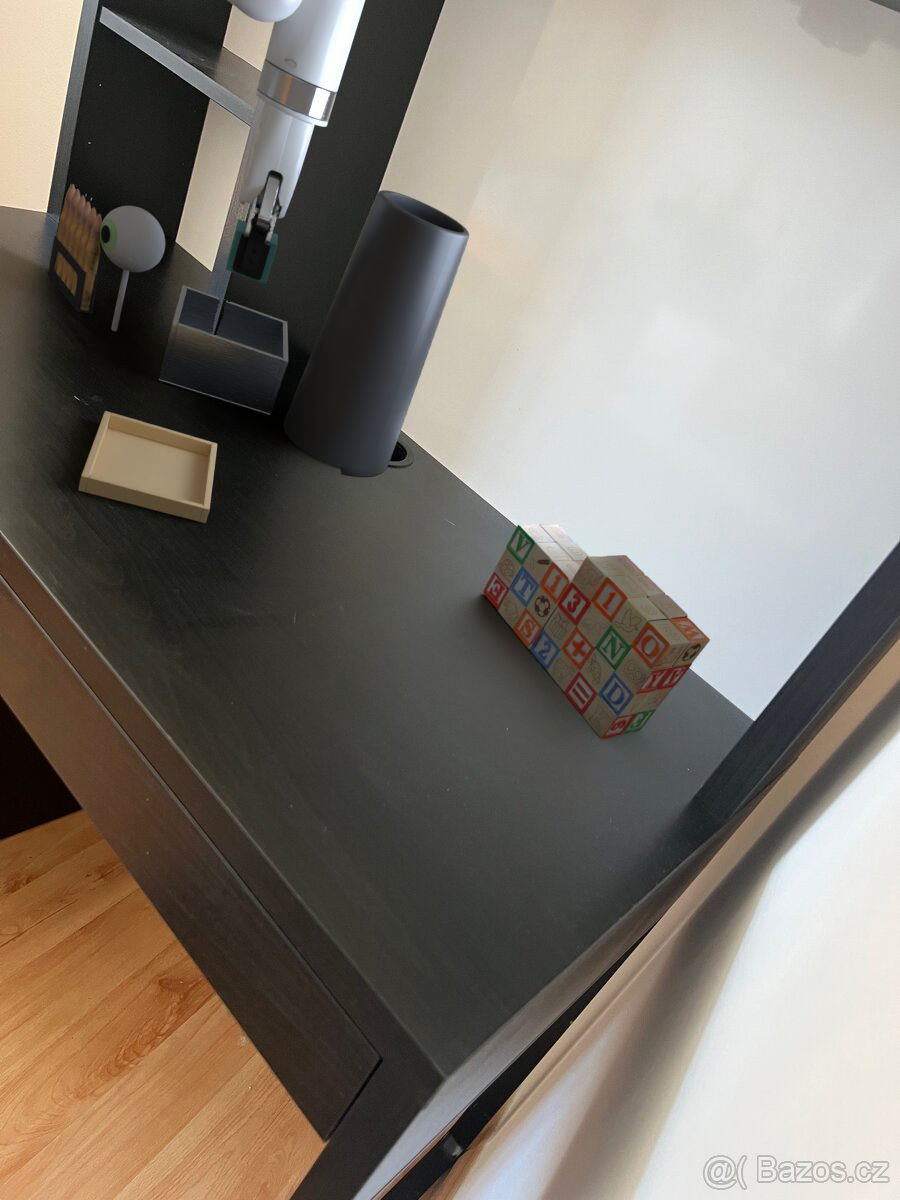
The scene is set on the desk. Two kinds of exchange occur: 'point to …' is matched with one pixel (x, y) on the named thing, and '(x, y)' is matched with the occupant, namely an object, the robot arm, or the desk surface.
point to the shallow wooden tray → (150, 467)
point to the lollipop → (131, 245)
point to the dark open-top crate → (225, 353)
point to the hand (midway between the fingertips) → (247, 266)
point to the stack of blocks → (594, 626)
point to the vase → (376, 336)
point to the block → (234, 246)
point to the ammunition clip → (77, 252)
